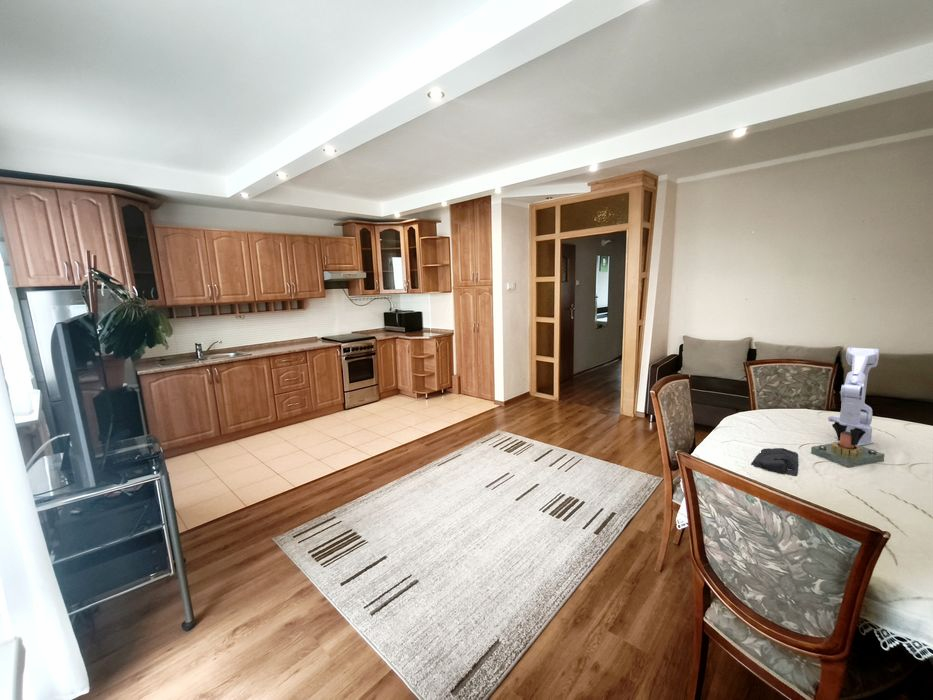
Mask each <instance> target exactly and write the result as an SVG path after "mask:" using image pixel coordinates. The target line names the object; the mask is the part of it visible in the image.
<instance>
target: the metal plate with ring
mask: <svg viewBox="0 0 933 700" xmlns="http://www.w3.org/2000/svg"><path fill="white" fill-rule="evenodd" d="M839 444H840V441H833V442H832V443H827V444H820V445H813V446H811V448H810V449H811V450H810V453H811V454H813V455H815V456H817V457H820V458H823V459H825V460H827V461H830V462H833V463H836V464H837V465H840V466H842V467H845V468H848V469H849V468H853V467H857V466H863V465H868V464H875V463H881V462H885V453H882V452H880V451H879V452H878V451H877V450H874V449H870V448H867V447H864V446H863V445H860V446H859V445H854V449H847V448H843V447H840V446H839Z"/></svg>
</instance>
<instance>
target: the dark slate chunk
mask: <svg viewBox="0 0 933 700" xmlns="http://www.w3.org/2000/svg"><path fill="white" fill-rule="evenodd" d="M760 451H761V453H760V452H759V453H758V454H756V456H755V457H754V458H753V461H752V462H751V463H750V465H751V466H753V467H754V468H756V469H762V470H765V471H769V472H772V473H775V474H780V475H782V474H783V475H788V476H790V475H791V476H795V477H796V476H798V474H799V465H800V464H799V463H800V462H799V453H797V452H796V451H792V450H789V449H787V448H784V447H779V448H778V447H774V448H763V449H761V450H760Z"/></svg>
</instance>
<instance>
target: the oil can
mask: <svg viewBox="0 0 933 700" xmlns="http://www.w3.org/2000/svg"><path fill="white" fill-rule="evenodd" d="M851 439H852V437H851V432H847V431H844V432H841V434H840V441H839V442H840V444H839V446H840V447H843V448H847V449H854V445H852V444H851Z"/></svg>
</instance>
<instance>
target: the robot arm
mask: <svg viewBox="0 0 933 700" xmlns="http://www.w3.org/2000/svg"><path fill="white" fill-rule="evenodd" d="M879 358H880V349H879V348H868V347H867V348H866V347H851V346H848V347H847V349H846V353H845V360H846V362H847V365H849V366H851V371H849V372H847V374H846V377H845V379H844V384H841V388H840V401H841V404H840V405H841V406H840V407H841V408H840V412H839V413H840V414H839V417H837V416H827V417H828V418H827V420H828V422H833V423H832V425H831V426H832V428H833V430H834V431H835V433H836V436H837V438H836V441H838V442H840V434H841V432H844V431H847V432H851V437H852V439H851V444H852V445H859V446H864V445H870V444H874V441H872V437H873V436H872V433H873V427H872V426H871V424H872V420H873V409H872V407H871V406H870V405H868V404H866V403H865V402H866V401H865V400H866V394H867V384H868V376H869V372H870V370H871V369H872V368H876V367H877V365H878V364H879Z"/></svg>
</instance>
